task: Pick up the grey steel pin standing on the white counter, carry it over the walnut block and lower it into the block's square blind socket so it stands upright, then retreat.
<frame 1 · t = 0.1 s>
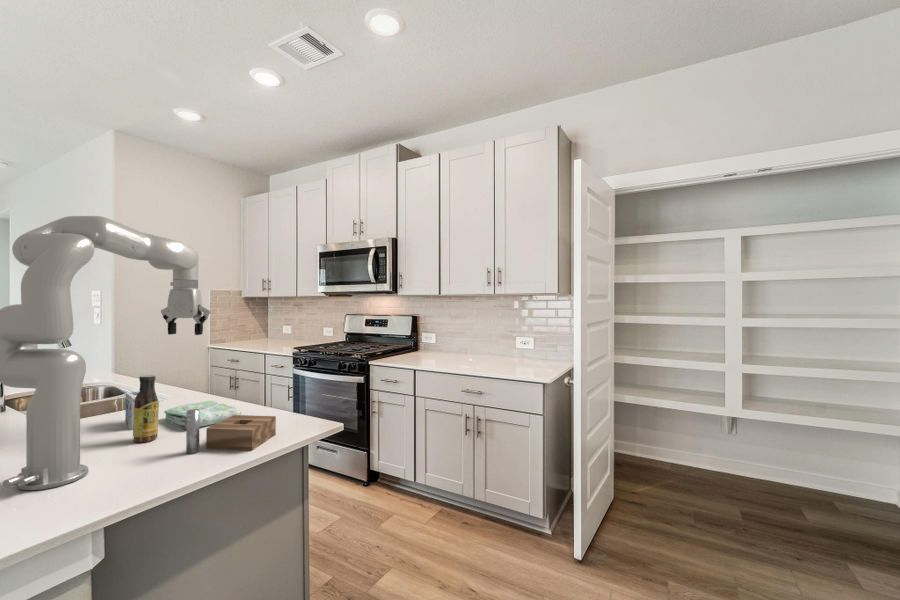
hand: (185, 334, 146), 31 cm above the counter, fingers open, 9 cm apart
pin: (192, 452, 120), on the counter
socket block: (242, 441, 129), on the counter
light bulb box: (140, 425, 145), on the counter
towel: (202, 421, 151), on the counter
sauce bottle: (145, 440, 130), on the counter
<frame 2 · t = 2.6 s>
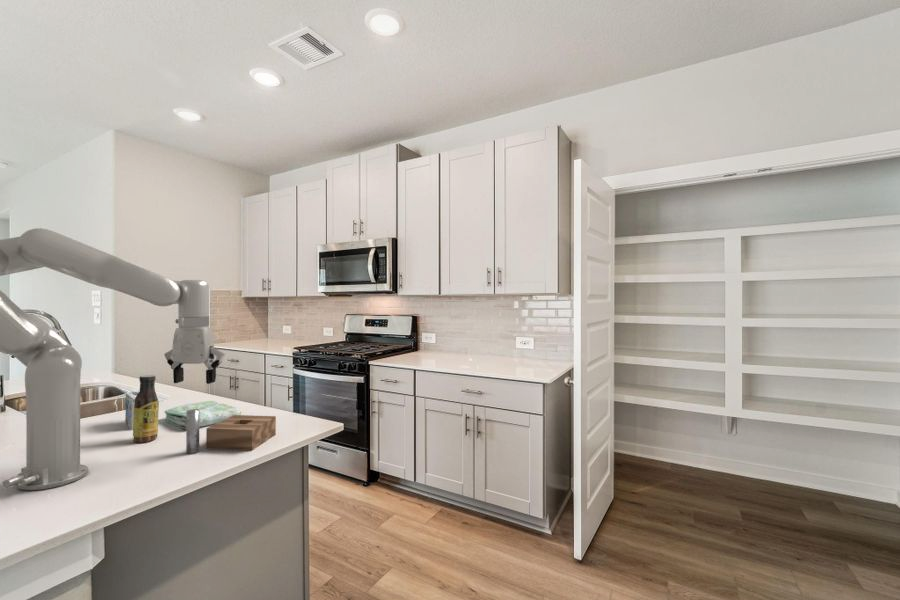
hand: (194, 382, 120), 20 cm above the counter, fingers open, 9 cm apart
nothing on the counter moved.
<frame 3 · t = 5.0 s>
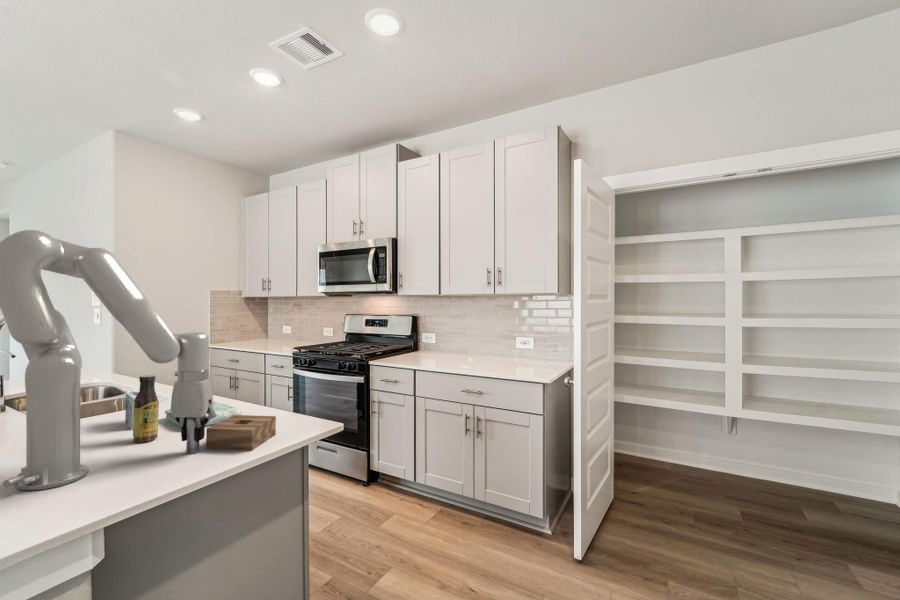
hand: (192, 439, 120), 4 cm above the counter, fingers closed on pin, 3 cm apart
pin: (192, 452, 120), on the counter, touching gripper
everything else where it was.
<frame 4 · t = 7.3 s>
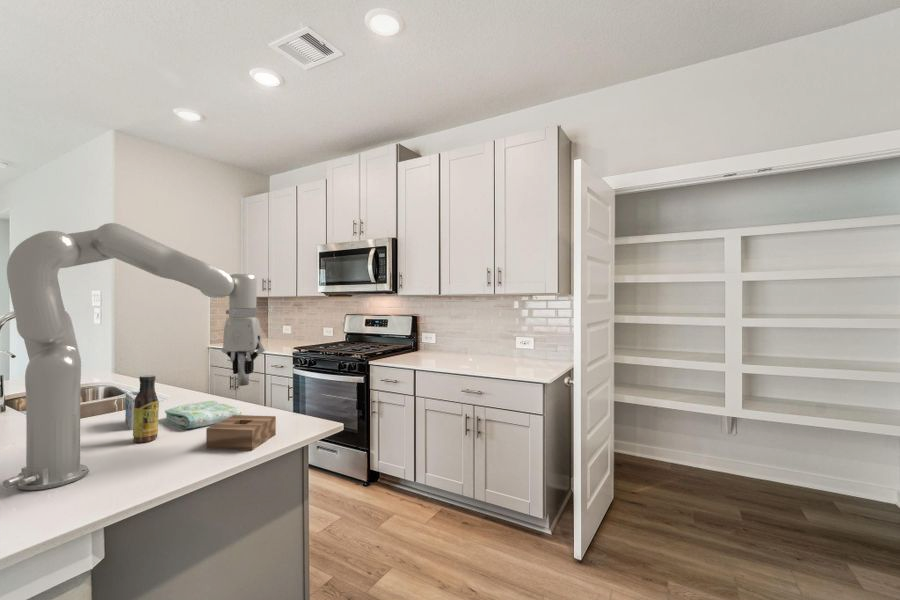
hand: (243, 372, 129), 21 cm above the counter, fingers closed on pin, 3 cm apart
pin: (243, 384, 129), point 18 cm above the counter, touching gripper
everything else where it was.
when the fingers open (7 cm above the counter, at t = 9.7 s): pin drops 2 cm, resting on socket block.
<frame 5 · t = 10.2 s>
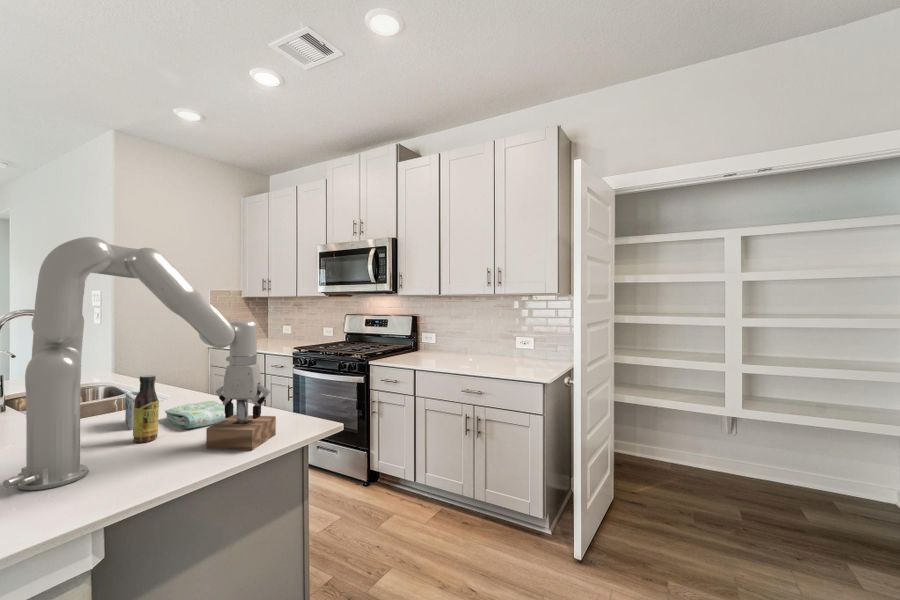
hand: (242, 417, 129), 8 cm above the counter, fingers open, 8 cm apart
pin: (242, 438, 129), point 1 cm above the counter, touching socket block
everything else where it was.
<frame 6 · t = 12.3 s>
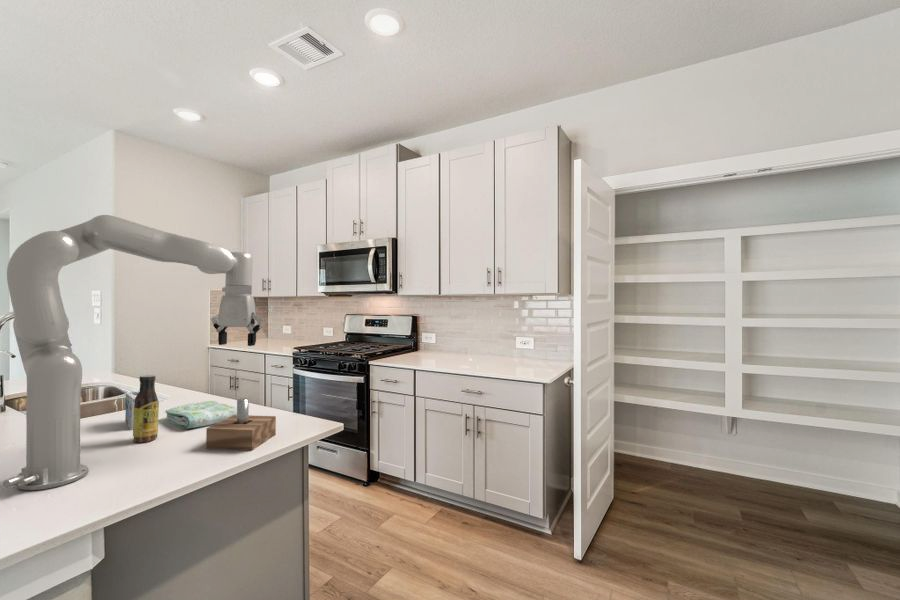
hand: (237, 345, 133), 29 cm above the counter, fingers open, 9 cm apart
nothing on the counter moved.
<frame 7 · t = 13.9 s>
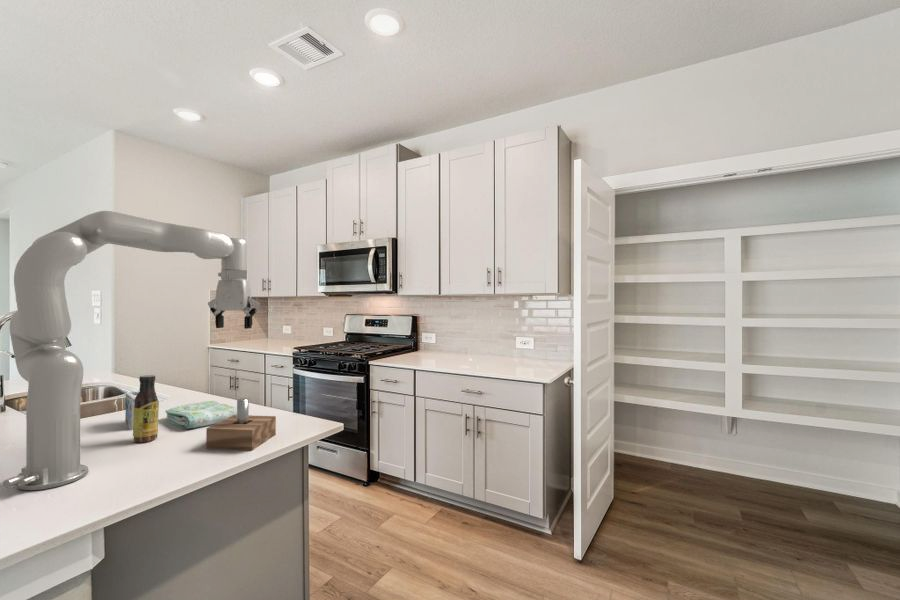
hand: (233, 328, 138), 34 cm above the counter, fingers open, 9 cm apart
nothing on the counter moved.
at the end: pin 0.1 cm off-centre on the socket block, point 1.0 cm above the socket block's base; pin tilted 0°; the gripper is holding nothing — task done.
